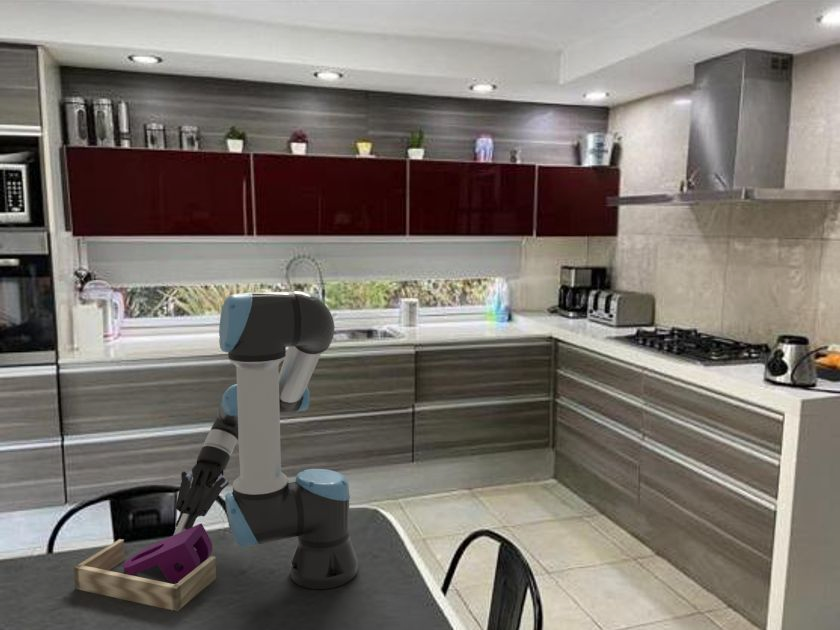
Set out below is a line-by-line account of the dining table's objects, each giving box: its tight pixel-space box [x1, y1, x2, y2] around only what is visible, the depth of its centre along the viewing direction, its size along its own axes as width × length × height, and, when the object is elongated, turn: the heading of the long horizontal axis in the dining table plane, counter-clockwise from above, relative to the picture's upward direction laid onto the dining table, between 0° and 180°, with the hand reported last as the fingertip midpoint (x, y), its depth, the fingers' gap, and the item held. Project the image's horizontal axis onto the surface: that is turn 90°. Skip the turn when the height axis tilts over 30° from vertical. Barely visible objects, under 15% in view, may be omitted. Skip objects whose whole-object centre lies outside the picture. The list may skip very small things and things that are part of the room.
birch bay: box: [73, 538, 217, 612], centre depth 140 cm, size 26×13×5 cm, turn 72°
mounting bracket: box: [122, 523, 213, 583], centre depth 145 cm, size 9×8×18 cm
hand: (176, 542), depth 150 cm, fingers closed
